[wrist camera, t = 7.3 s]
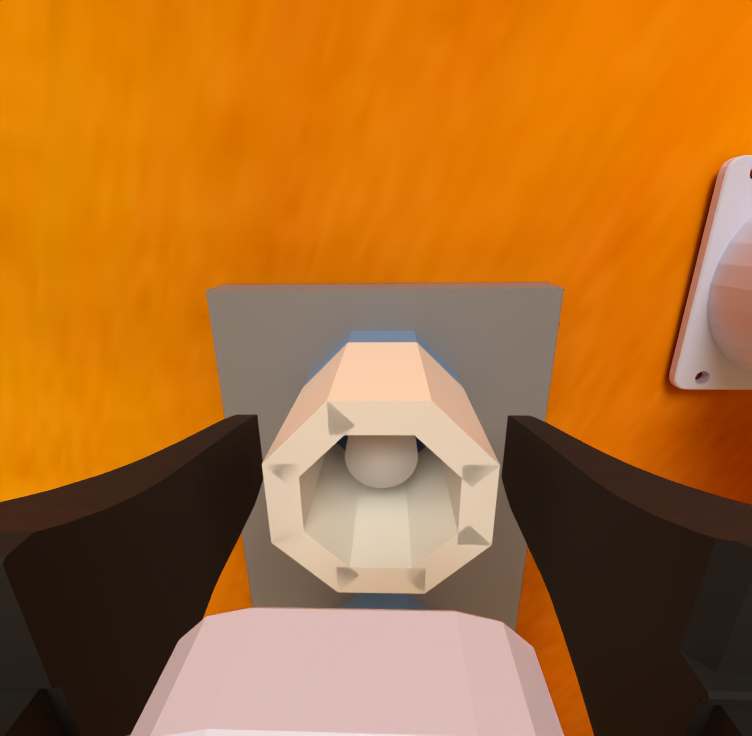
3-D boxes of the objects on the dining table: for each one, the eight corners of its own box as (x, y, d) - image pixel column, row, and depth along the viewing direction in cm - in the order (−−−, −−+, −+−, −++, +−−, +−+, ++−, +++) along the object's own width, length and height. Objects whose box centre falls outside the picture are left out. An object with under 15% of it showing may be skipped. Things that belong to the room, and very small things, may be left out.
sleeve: (458, 330, 14) (507, 400, 8) (450, 461, 16) (486, 594, 10) (308, 331, 14) (253, 400, 8) (317, 460, 16) (276, 591, 10)
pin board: (546, 282, 15) (633, 311, 10) (498, 666, 21) (533, 807, 16) (223, 284, 15) (136, 313, 10) (273, 660, 22) (236, 797, 16)
